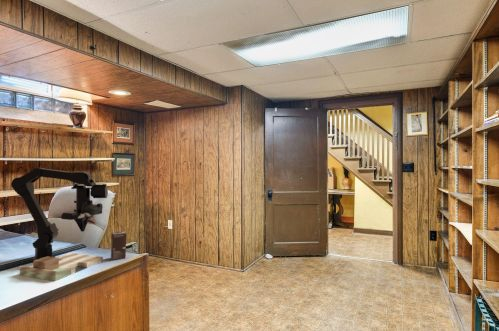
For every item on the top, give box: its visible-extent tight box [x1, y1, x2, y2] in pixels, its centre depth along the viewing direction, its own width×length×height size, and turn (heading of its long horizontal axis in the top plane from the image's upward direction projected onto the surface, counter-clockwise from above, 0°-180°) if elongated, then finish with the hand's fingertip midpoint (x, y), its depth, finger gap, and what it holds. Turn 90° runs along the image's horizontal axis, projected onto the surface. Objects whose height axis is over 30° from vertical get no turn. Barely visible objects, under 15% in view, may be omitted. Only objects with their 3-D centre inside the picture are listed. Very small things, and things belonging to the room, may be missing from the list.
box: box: [110, 230, 127, 261], centre depth 142 cm, size 6×4×12 cm
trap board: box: [19, 252, 104, 282], centre depth 128 cm, size 18×24×4 cm
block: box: [32, 256, 59, 271], centre depth 120 cm, size 6×6×4 cm
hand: (82, 231), depth 143 cm, fingers closed
